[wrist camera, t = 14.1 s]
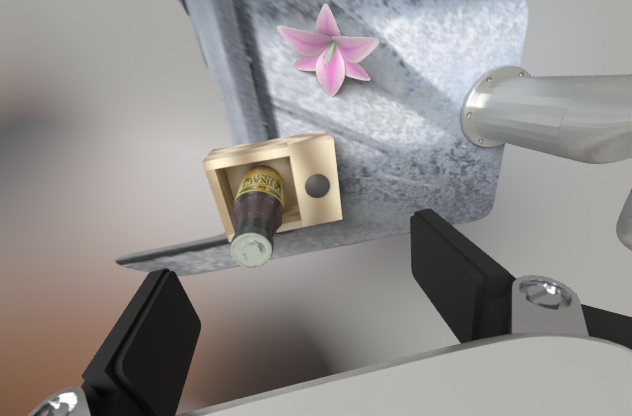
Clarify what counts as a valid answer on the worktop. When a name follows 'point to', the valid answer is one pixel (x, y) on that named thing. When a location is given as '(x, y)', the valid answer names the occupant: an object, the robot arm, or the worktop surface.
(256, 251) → the sauce bottle
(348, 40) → the lily
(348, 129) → the worktop surface
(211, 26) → the worktop surface
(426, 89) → the worktop surface
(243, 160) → the caddy
